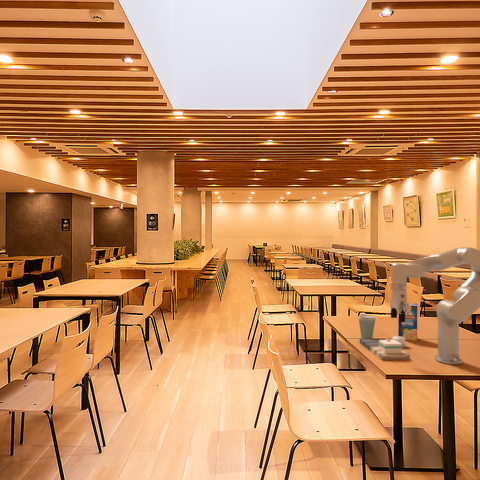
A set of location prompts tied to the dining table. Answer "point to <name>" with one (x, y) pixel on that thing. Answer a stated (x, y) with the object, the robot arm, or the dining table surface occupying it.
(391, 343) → the carton
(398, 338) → the white domed cylinder
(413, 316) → the beverage box
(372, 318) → the disposable coffee cup
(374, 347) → the beige flat board
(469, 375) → the dining table surface
